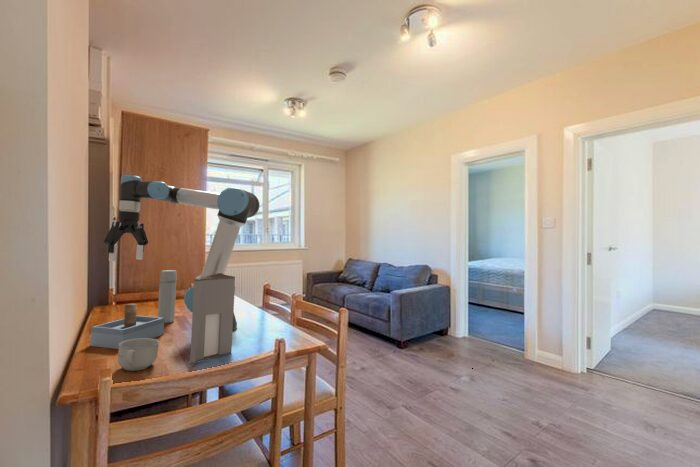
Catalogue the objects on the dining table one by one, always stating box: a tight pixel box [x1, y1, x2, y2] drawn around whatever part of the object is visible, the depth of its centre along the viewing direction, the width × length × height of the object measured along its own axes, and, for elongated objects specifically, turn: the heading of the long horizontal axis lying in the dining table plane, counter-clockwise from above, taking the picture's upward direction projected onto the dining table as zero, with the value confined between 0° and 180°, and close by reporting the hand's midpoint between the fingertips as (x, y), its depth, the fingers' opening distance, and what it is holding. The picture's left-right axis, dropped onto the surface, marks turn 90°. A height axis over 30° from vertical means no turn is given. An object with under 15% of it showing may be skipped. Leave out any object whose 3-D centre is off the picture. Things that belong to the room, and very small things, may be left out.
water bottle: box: [157, 269, 178, 324], centre depth 158 cm, size 9×8×25 cm
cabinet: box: [189, 273, 236, 366], centre depth 117 cm, size 21×10×28 cm, turn 1°
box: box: [89, 315, 165, 350], centre depth 129 cm, size 14×20×7 cm
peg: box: [123, 303, 138, 329], centre depth 129 cm, size 4×4×14 cm
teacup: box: [117, 338, 160, 372], centre depth 101 cm, size 14×11×8 cm
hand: (126, 260), depth 139 cm, fingers open, 13 cm apart
